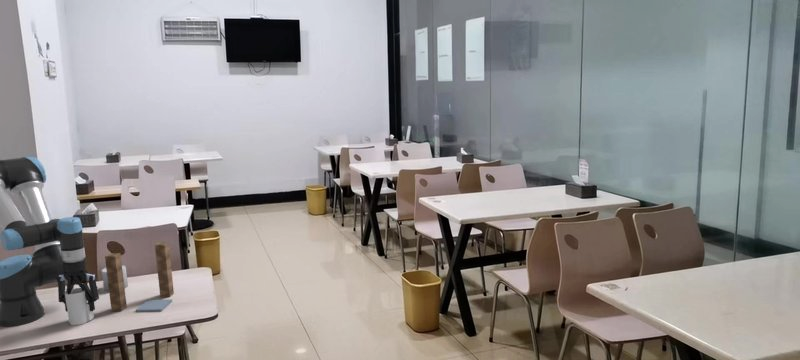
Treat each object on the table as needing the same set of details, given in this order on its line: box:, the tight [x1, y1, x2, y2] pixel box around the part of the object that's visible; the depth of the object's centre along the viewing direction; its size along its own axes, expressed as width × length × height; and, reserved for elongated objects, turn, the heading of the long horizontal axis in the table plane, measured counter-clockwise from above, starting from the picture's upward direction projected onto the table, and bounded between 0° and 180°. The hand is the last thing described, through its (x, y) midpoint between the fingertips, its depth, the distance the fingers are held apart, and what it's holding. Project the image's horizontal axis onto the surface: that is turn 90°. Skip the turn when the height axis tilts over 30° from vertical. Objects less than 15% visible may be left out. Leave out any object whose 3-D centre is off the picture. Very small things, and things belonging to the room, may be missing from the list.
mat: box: [135, 299, 173, 313], centre depth 228 cm, size 10×10×1 cm
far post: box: [154, 241, 175, 298], centre depth 238 cm, size 4×4×22 cm
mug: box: [65, 287, 89, 326], centre depth 216 cm, size 10×7×12 cm, turn 166°
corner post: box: [104, 252, 128, 312], centre depth 225 cm, size 4×4×22 cm
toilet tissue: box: [101, 265, 129, 292], centre depth 252 cm, size 9×13×9 cm
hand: (81, 319), depth 217 cm, fingers closed on mug, 6 cm apart
